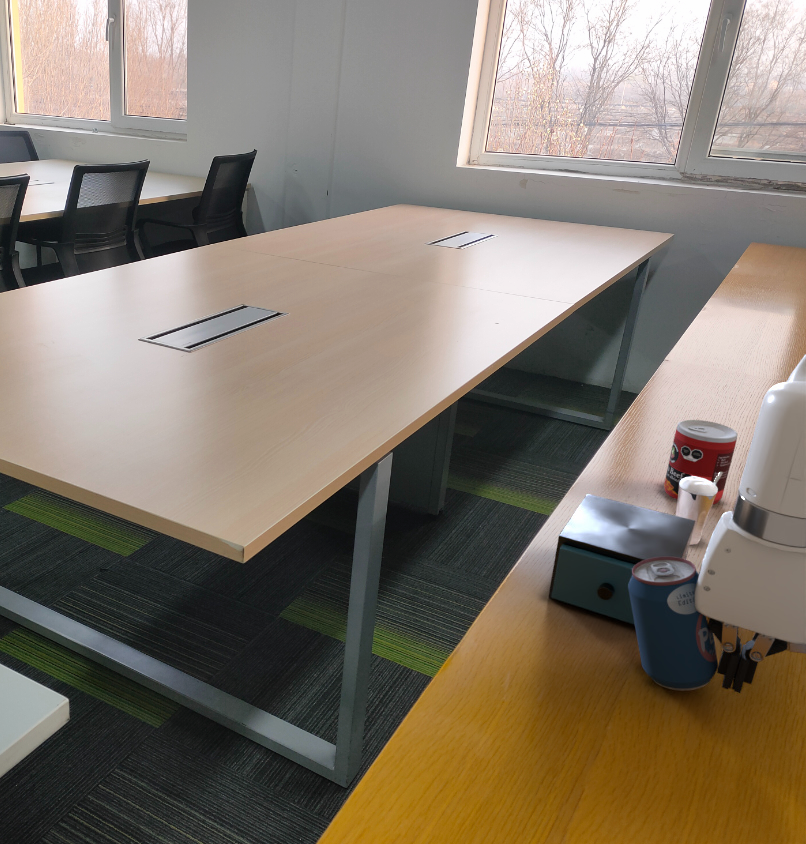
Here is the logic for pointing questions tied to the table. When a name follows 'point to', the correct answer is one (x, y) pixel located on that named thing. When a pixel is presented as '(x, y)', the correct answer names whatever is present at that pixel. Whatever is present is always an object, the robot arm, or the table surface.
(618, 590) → the drawer
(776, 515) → the robot arm
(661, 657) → the soda can
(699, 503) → the milkshake
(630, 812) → the table surface
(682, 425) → the canned food
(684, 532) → the cabinet
